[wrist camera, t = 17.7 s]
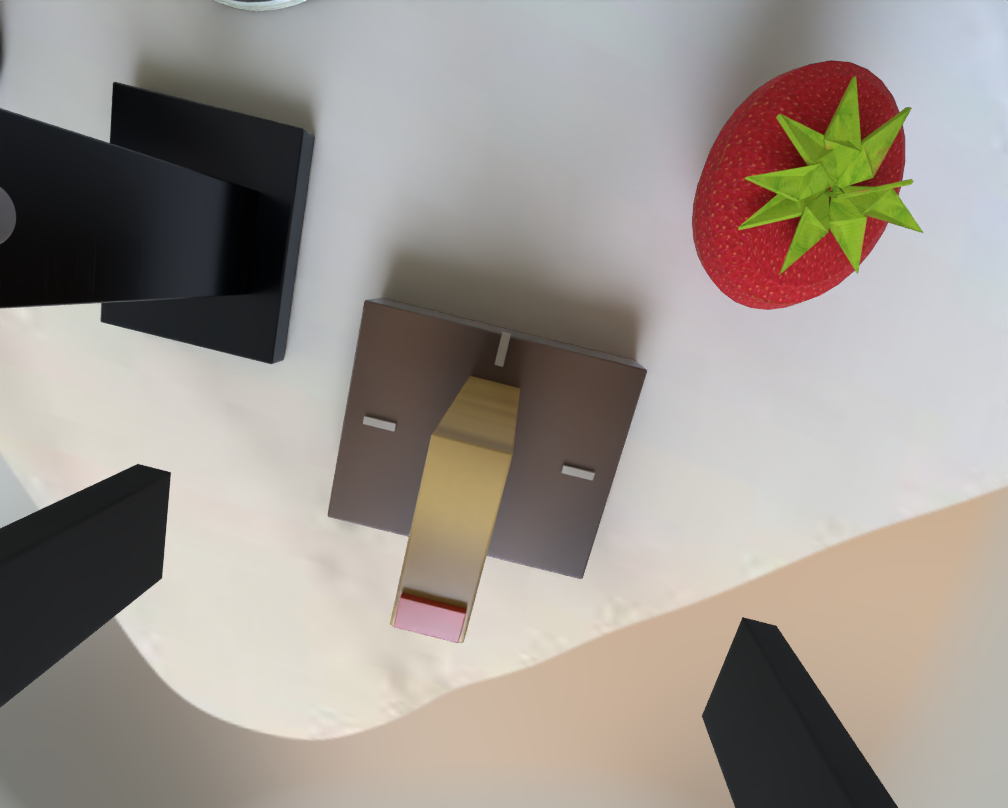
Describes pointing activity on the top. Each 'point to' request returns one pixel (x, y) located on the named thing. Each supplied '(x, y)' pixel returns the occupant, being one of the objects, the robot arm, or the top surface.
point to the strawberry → (801, 185)
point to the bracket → (158, 220)
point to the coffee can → (260, 4)
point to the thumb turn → (457, 510)
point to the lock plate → (538, 437)
